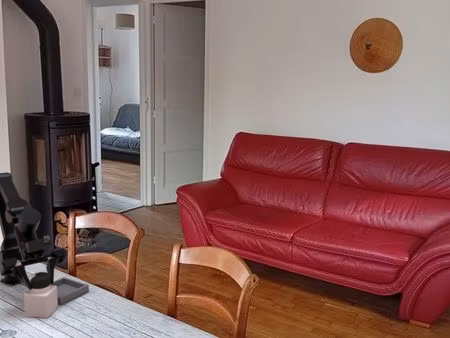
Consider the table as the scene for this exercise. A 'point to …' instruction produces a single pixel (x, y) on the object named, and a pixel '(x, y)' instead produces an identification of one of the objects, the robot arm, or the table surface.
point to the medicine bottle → (40, 296)
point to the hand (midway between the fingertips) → (41, 286)
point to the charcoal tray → (69, 290)
